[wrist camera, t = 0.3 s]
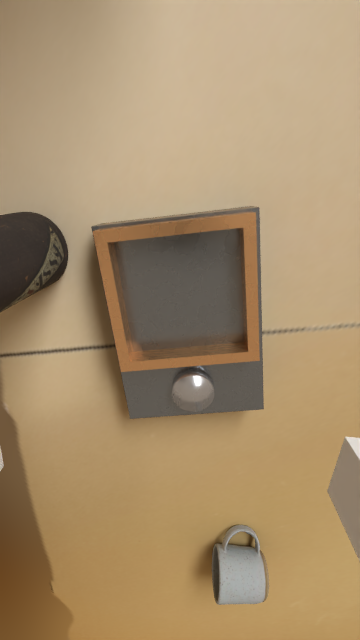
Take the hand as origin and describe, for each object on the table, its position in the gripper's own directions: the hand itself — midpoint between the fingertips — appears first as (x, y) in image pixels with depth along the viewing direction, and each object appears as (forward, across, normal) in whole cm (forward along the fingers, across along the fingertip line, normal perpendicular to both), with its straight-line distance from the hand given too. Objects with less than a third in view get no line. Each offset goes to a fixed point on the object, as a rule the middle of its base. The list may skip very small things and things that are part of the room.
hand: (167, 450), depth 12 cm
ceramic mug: (+28, +12, -46) cm, 56 cm away
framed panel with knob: (+28, +1, -5) cm, 28 cm away
